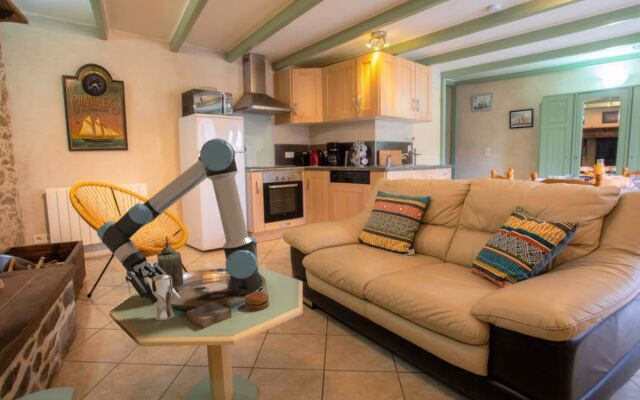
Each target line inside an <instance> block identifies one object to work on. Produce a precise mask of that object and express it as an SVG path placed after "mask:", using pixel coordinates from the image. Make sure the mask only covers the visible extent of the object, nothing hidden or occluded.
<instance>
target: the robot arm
mask: <svg viewBox="0 0 640 400" xmlns="http://www.w3.org/2000/svg"><path fill="white" fill-rule="evenodd" d="M236 162H237V161H236V152H235V149H234V147H233V146H232V144H230V143H229V142H228V141H227V140H225V139H223V138H220V137H219V138H212V139H209V140H207V141H206V142H204V143H203V145H202V146H201V148H200V152H199V156H198V158H197V161H196V162H195V163H194V164H192V165H191V166H190V167H188V168H187V169H185V171H184V172H182V173H181V174H179V175H178V176H177V177H176V178H175V179H173V180H172V181H171V182H169V183H168V184H167V185H165V186H164V187H163V188H162V189H160V190H159V191H158V192H156V193H155V194H154V195H152V197H150V198H149V199H148V200H146V201H145V202H143V203H140V202H138V203H135V204H134V205H133V206H132V207H130V208H129V209H128V210H127V211H126V212H125V214H123V215H122V216H121V217H120V218H119V219H117V221H116V222H115V221H113V220H112V221H111V220H110V221H107V222H105V223H104V224H102V225H100V227H99V228H98V229H97V232H96V235H97V237H98V238H99V239H100V241H101V242H102V244H103V245H104V246H105V247H106V248H107V249H108V250H109V251H110V253H112V254H113V256H114V257H115V259H117V260H118V261H119V263H120V264H122V267H123V268H124V269H125V270H126V271H127V272H128V273H127V275H126V276H125V277H124V278H125V280H127V281H129V282H130V284H131V285H132V286H133V288H134V290H135V292H137V294H138V295H139V296H140V298H142V299H143V298H144V299H147V300H148V299H149V300H150V301H151V302H152V303H153V304H154V303H155V304H156V305H157V306H158V308H159V309H160V310H161V311H162V310H163V309H164V308H165V307H166V306H167V305H166V304H165V302H164V301H163V300H162V299H161V298H160V297H159V296H158V294H157V293H156V292H153V293H152V289H151V284H150V283H149V280H148V279H151V278H152V277H154V276H158V275H167V274H166V273H165V272H164V271H163V270H162V269H161V268H160V267H159V265H158V261H157V262H154V263H150V262H148V261H147V257H146V256H145V255H144V253H143V252H142V251H140V249H139V248H138V247H137V246H136V244H135V243H134V242H133V241H132V240H131V238H132V237H133V236H134V235H135V234H136V233H137V232H138V231H139V230H141V229H142V228H143V227H144V226H146V225H148V224H150V223H153V221H155V220H156V219H157V218H158V217H159V216H160V215H162V214H163V213H164V212H166V211H167V210H168V209H169V208H170V207H172V206H173V205H174V204H176V203H177V202H179V201H180V199H182V198H183V197H185V196H186V195H187V194H188V193H190V192H191V191H193V190H194V189H195V188H196V187H198V186H199V185H200V184H201V183H202V182H204V181H205V180H206V179H208V180H210V181H211V183H212V186H213V187H212V188H213V190H214V195H215V200H216V204H217V209H218V211H219V213H218V214H219V216H220V221H221V225H222V230H223V234H224V239H225V242H224V244H223V245H222V247H223V252H224V257H225V269H226V271H227V273H228V274H229V275H230V276H229V278H228V281H227V282H228V283H227V287H226V288H227V292H228V293H229V294H231V295H234V296H236V295H237V296H246V295H247V294H250V293H252V292H254V291H256V290H257V289H259V288H260V287H261V286H262V285H263V286H264V281H263V280H262V277H261V274H260V272H259V264H258V245H257V244H258V242H257V238H256V237H255V236H250V235H249V234H248V231H247V225H246V221H245V217H244V212H243V209H242V204H241V200H240V195H239V189H238V185H237V182H236V175H237V174H238V172H239V171H238V168H237V167H238V166H237V163H236ZM147 278H148V279H147ZM171 280H172V279H171ZM172 281H173V280H172ZM175 290H176V289H175V288H173V293H172V301H173V302H174V303H177V302H178V301H179V300H180V299H181V296H180V295H179V294H178V293H177V292H176V291H175ZM155 304H154V305H155Z"/></svg>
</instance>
